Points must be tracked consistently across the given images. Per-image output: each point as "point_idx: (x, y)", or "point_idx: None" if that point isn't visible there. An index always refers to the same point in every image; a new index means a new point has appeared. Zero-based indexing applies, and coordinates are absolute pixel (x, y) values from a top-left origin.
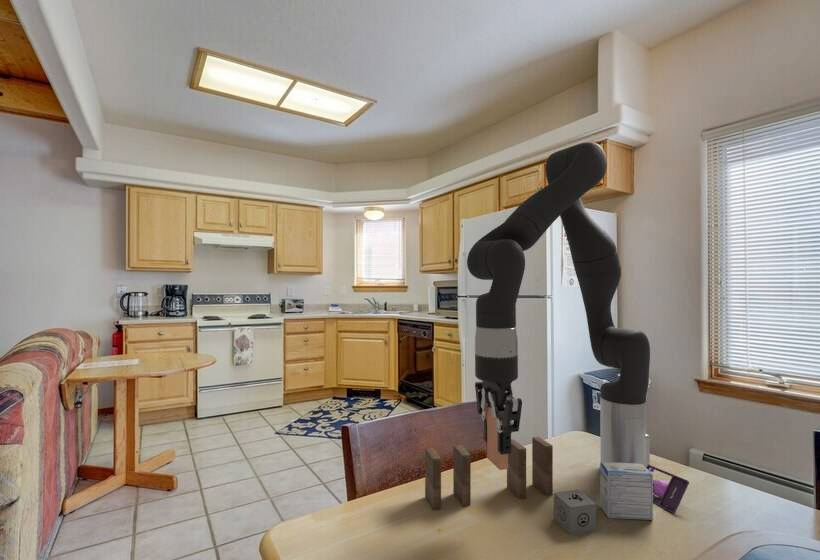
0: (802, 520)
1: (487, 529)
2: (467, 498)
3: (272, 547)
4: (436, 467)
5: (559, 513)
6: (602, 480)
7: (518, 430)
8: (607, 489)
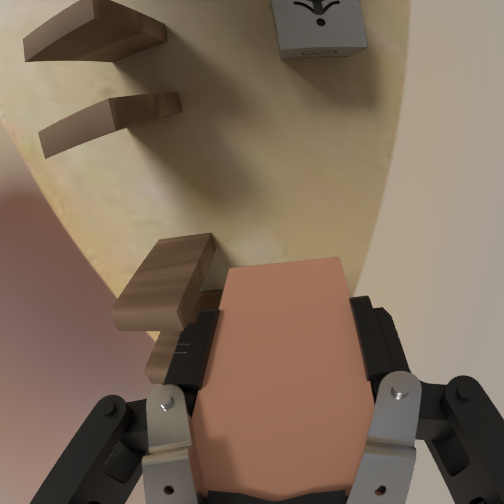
0: None
1: (300, 222)
2: (208, 249)
3: None
4: None
5: (307, 53)
6: None
7: (476, 381)
8: None
